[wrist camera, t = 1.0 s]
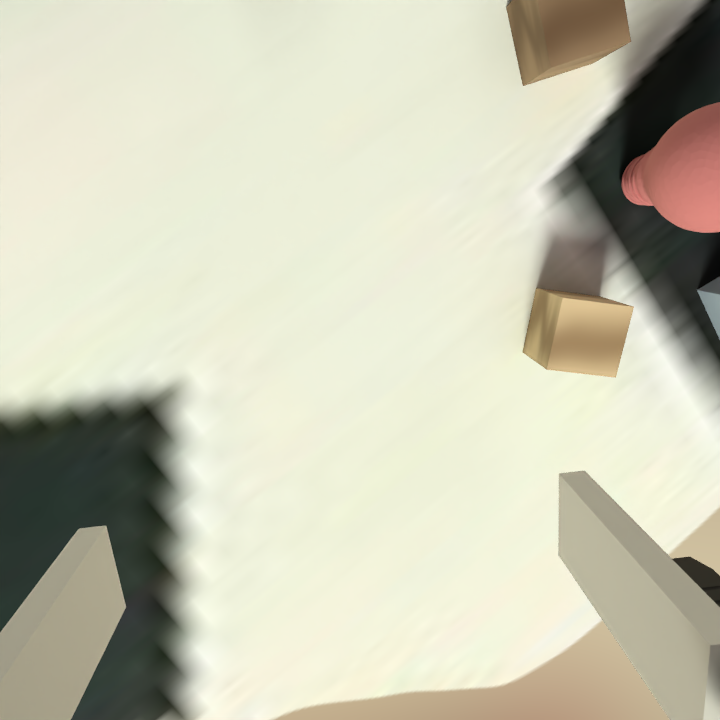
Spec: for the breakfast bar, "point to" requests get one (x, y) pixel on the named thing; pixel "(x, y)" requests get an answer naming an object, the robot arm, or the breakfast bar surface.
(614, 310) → the oak block
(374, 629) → the breakfast bar surface
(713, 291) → the slate-blue painted block
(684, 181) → the light bulb
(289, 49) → the breakfast bar surface
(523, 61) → the walnut block
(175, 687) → the breakfast bar surface
